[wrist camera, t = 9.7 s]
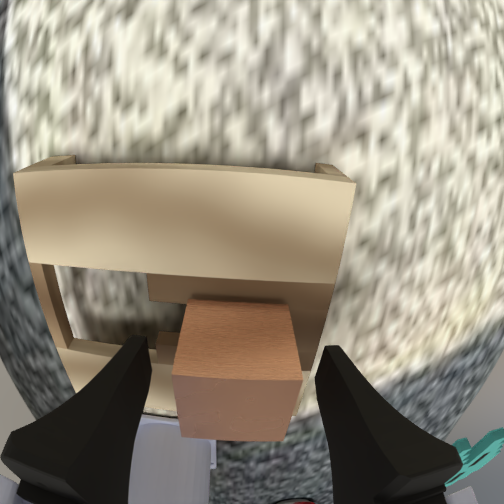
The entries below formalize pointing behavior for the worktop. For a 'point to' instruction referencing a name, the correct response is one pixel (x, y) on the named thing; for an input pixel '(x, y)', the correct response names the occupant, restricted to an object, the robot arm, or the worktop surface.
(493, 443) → the alien figure
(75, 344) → the tan piece
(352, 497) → the robot arm
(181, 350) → the headed peg
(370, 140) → the worktop surface
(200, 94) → the worktop surface
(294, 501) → the soda can
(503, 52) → the worktop surface
